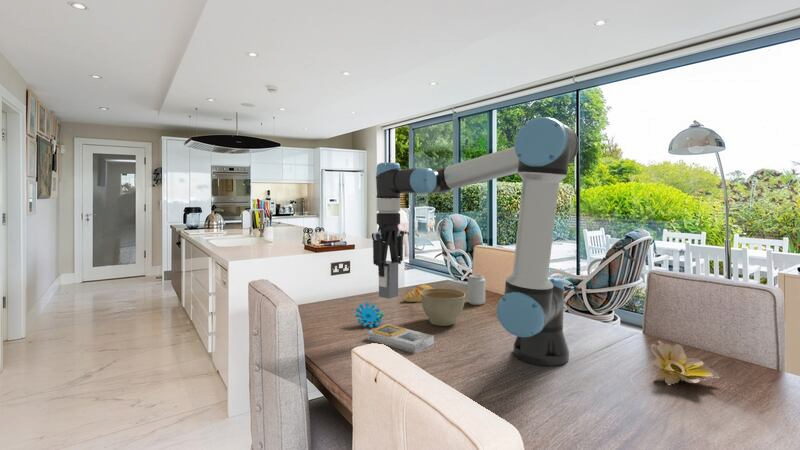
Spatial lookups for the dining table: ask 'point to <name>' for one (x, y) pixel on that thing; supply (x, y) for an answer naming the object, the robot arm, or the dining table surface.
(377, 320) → the gear
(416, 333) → the grey slotted holder
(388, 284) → the peg
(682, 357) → the decorative flower
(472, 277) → the can
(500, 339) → the dining table surface
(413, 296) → the croissant
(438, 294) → the planter bowl
